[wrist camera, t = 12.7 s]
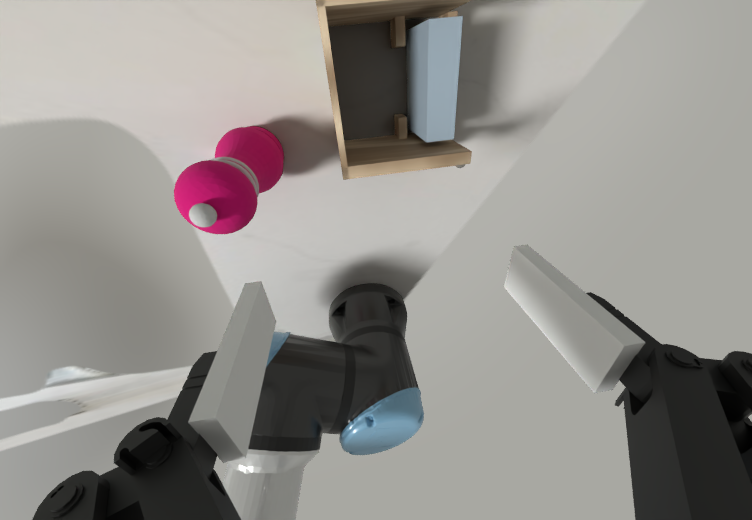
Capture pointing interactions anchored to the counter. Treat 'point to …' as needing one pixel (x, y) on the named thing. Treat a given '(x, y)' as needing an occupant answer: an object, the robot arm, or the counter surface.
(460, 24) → the door
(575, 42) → the counter surface
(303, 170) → the counter surface
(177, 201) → the pepper mill
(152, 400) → the counter surface
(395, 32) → the cabinet
